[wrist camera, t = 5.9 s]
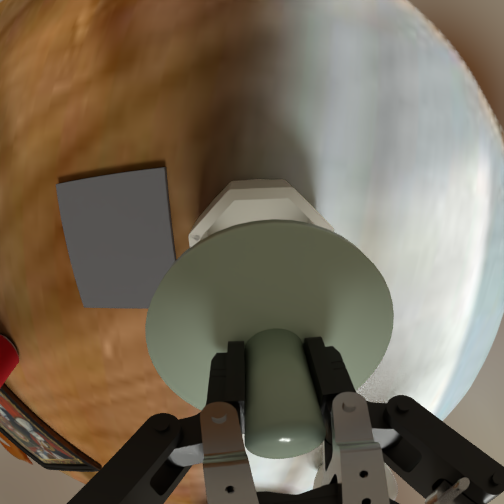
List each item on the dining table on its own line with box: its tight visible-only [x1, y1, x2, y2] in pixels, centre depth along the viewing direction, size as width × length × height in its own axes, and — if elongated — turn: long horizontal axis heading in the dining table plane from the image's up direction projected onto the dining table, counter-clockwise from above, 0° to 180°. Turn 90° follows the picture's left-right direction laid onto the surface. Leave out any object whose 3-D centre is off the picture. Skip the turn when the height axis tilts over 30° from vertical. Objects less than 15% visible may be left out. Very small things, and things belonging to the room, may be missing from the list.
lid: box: [146, 219, 394, 459], centre depth 11 cm, size 12×12×6 cm
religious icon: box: [0, 384, 102, 472], centre depth 42 cm, size 38×35×3 cm
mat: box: [56, 167, 176, 308], centre depth 26 cm, size 14×12×1 cm
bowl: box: [189, 179, 334, 247], centre depth 24 cm, size 11×11×5 cm
